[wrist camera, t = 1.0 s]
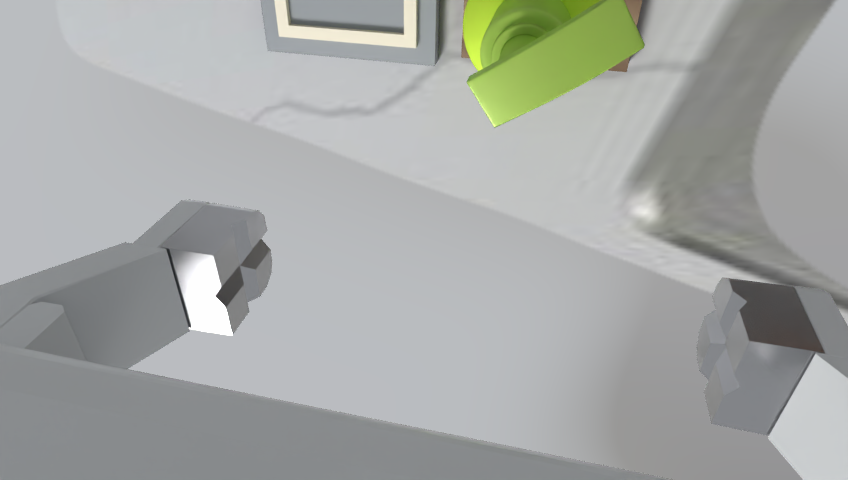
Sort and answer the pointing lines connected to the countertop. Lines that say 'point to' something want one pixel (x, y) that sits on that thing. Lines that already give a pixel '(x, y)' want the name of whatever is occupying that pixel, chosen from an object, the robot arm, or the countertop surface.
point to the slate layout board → (355, 29)
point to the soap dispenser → (542, 49)
